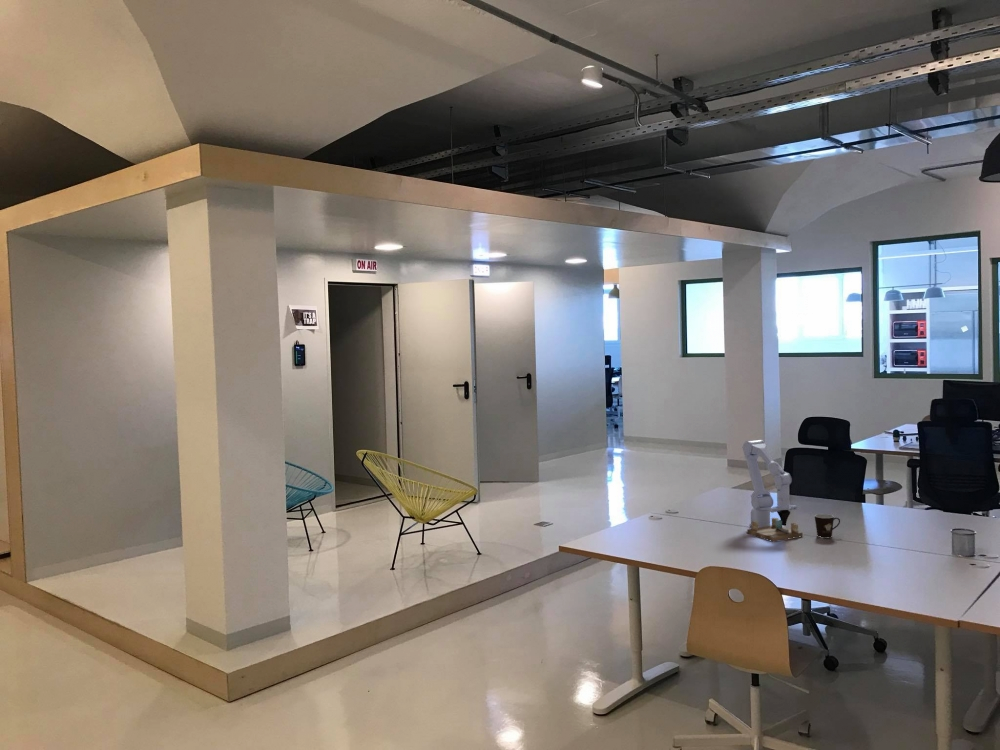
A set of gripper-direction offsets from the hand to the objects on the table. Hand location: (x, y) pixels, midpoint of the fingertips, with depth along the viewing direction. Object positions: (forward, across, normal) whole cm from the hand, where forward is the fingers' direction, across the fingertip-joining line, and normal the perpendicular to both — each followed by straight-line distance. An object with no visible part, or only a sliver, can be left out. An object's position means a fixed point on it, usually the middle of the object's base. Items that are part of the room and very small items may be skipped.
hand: (783, 525), depth 377 cm
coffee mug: (+4, +14, -14) cm, 20 cm away
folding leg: (+1, -3, -3) cm, 5 cm away
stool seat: (+4, -6, -1) cm, 7 cm away
